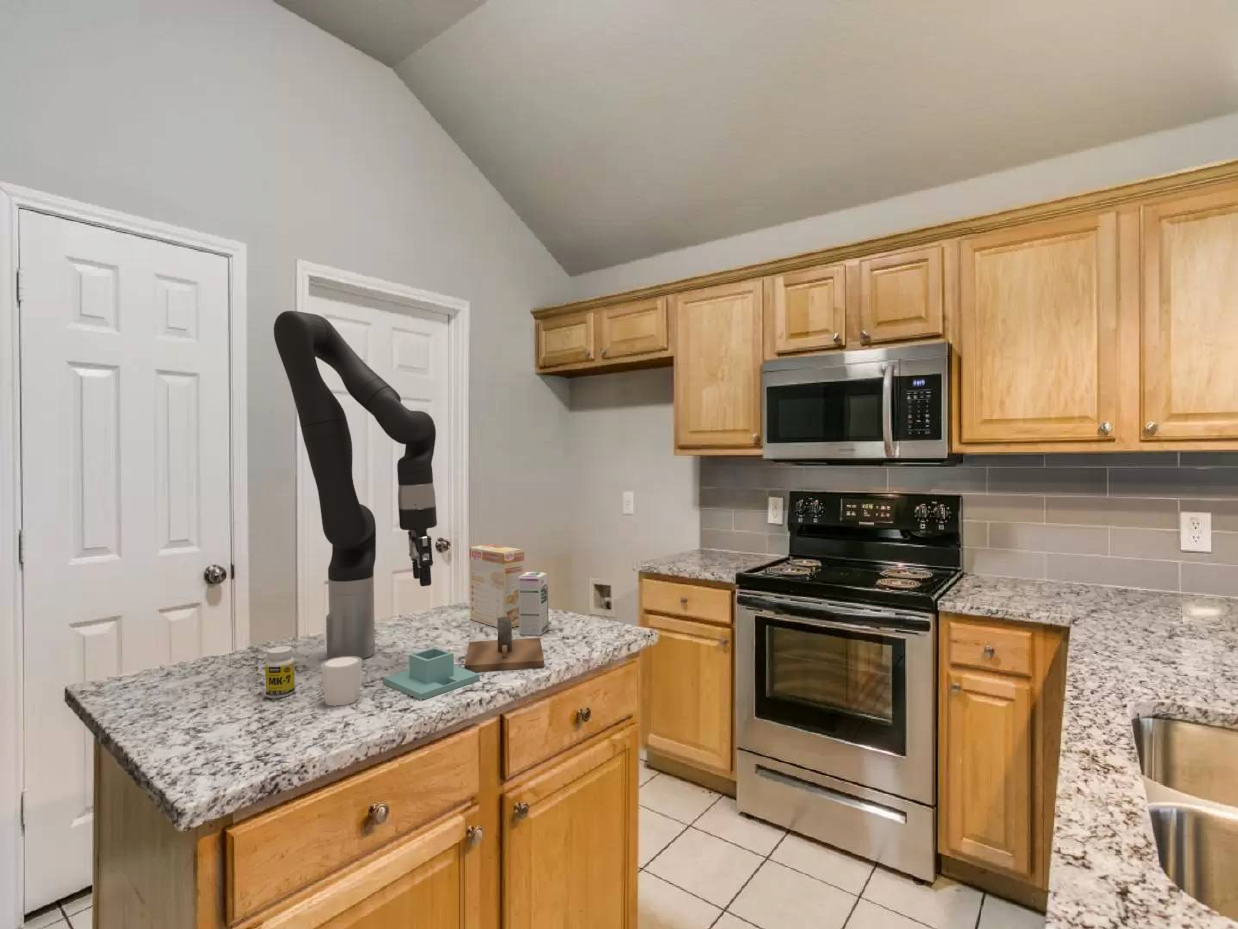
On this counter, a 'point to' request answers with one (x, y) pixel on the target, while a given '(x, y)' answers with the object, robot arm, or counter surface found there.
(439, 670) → the flange plate
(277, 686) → the supplement bottle
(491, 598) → the coffeecake box
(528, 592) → the syrup box
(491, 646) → the post block
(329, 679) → the white short cylinder
